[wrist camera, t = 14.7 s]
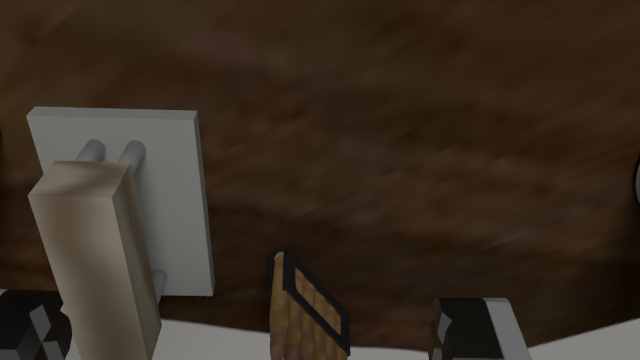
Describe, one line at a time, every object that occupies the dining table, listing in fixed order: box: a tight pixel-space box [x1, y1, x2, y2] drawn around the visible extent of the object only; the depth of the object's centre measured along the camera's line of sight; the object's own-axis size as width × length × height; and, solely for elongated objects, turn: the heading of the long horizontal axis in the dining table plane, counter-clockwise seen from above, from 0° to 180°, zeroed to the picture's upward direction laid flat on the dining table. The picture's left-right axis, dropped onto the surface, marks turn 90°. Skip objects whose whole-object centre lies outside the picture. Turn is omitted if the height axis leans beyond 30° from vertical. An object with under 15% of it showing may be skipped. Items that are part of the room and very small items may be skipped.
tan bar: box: [28, 161, 162, 360], centre depth 38 cm, size 5×16×4 cm, turn 178°
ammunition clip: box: [268, 247, 350, 360], centre depth 46 cm, size 11×2×12 cm, turn 33°
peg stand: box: [26, 107, 215, 304], centre depth 43 cm, size 12×18×6 cm, turn 178°
